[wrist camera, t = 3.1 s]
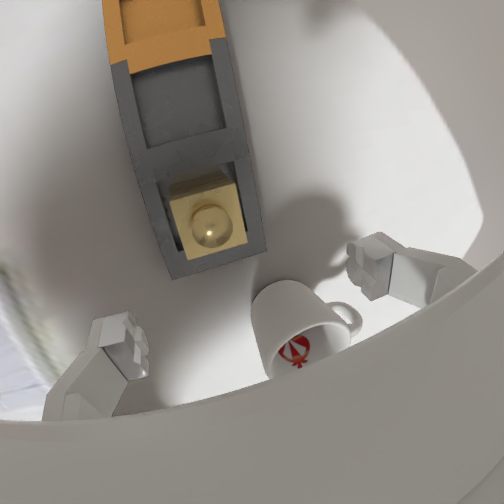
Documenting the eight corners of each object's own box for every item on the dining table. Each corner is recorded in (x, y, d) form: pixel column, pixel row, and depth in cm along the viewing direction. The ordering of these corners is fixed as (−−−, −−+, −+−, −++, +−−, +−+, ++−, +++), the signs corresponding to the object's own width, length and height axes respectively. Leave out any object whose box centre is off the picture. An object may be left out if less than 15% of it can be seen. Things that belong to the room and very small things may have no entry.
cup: (340, 259, 28) (387, 301, 21) (329, 318, 31) (364, 363, 25) (239, 275, 25) (267, 333, 18) (241, 337, 29) (264, 395, 22)
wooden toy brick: (231, 217, 22) (252, 249, 17) (183, 231, 21) (189, 268, 16) (220, 170, 20) (239, 187, 15) (169, 184, 20) (169, 206, 14)
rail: (259, 241, 24) (267, 251, 22) (171, 267, 23) (172, 280, 21) (203, -37, 12) (206, -49, 10) (105, -15, 10) (100, -26, 9)
